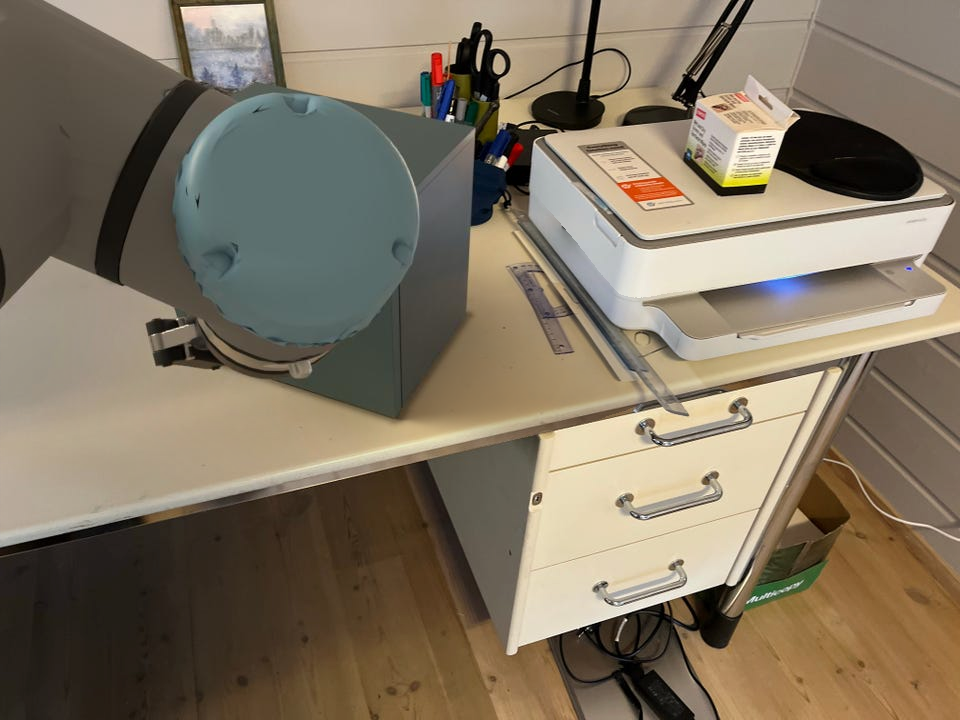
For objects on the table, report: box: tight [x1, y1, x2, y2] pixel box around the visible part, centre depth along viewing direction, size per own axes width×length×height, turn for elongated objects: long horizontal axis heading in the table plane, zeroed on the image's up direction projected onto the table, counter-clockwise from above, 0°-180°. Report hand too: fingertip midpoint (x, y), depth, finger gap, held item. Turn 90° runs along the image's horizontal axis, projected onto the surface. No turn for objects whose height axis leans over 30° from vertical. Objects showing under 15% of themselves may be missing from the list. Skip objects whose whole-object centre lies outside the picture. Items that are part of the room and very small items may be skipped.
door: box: [174, 286, 402, 419], centre depth 72 cm, size 7×26×24 cm, turn 69°
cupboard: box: [229, 81, 476, 409], centre depth 81 cm, size 18×26×24 cm
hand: (252, 352), depth 59 cm, fingers closed
